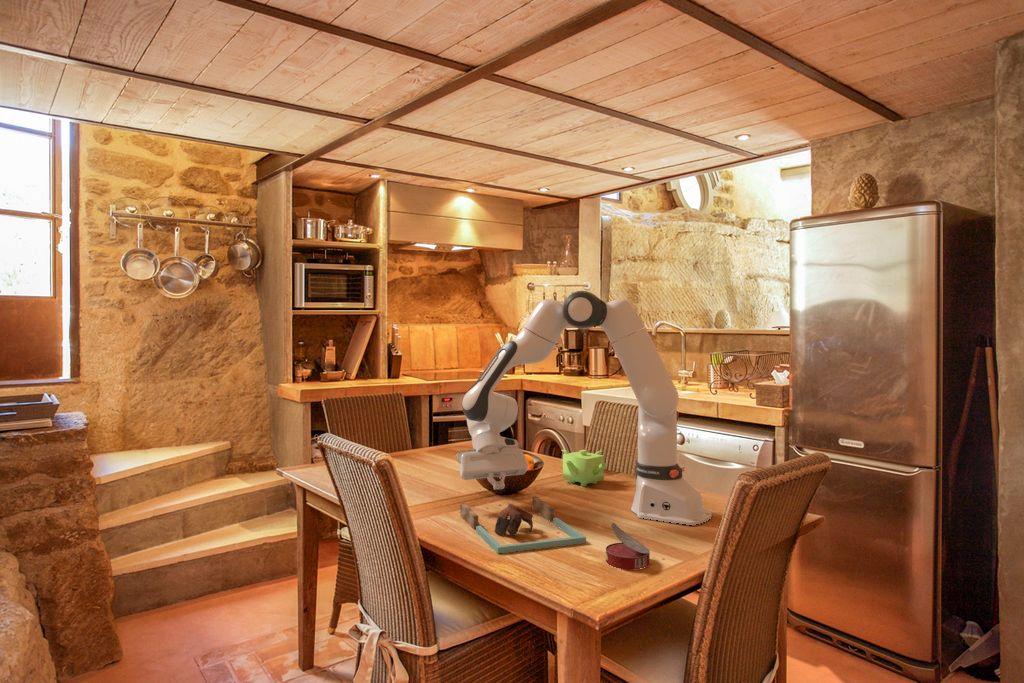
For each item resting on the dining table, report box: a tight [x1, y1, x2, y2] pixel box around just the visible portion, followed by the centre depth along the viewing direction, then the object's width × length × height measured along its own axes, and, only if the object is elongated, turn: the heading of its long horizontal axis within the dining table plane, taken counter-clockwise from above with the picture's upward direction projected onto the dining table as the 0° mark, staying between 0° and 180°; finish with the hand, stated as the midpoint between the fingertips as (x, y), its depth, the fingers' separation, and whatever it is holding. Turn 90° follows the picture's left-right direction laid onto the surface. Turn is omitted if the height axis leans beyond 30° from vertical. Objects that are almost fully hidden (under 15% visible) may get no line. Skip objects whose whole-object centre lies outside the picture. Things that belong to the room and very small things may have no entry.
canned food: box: [605, 522, 651, 570], centre depth 150 cm, size 11×10×10 cm
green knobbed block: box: [561, 449, 608, 488], centre depth 223 cm, size 15×14×11 cm
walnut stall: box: [459, 496, 555, 530], centre depth 182 cm, size 13×23×4 cm, turn 110°
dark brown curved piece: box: [493, 503, 534, 537], centre depth 169 cm, size 12×10×8 cm
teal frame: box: [475, 517, 587, 555], centre depth 166 cm, size 17×23×2 cm
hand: (499, 488), depth 189 cm, fingers closed
